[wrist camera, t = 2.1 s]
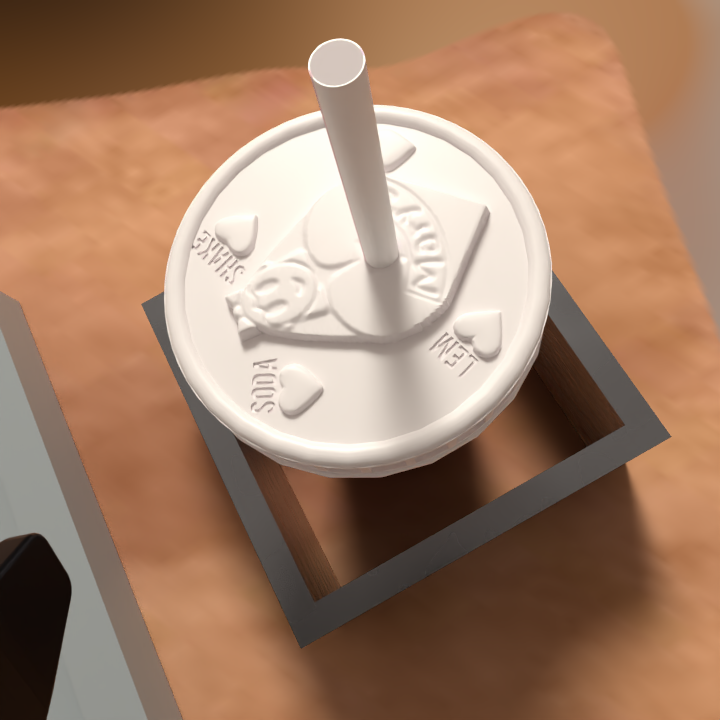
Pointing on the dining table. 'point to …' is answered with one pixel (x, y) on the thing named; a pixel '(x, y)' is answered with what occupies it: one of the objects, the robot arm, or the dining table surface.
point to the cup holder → (341, 604)
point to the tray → (72, 546)
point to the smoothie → (358, 284)
